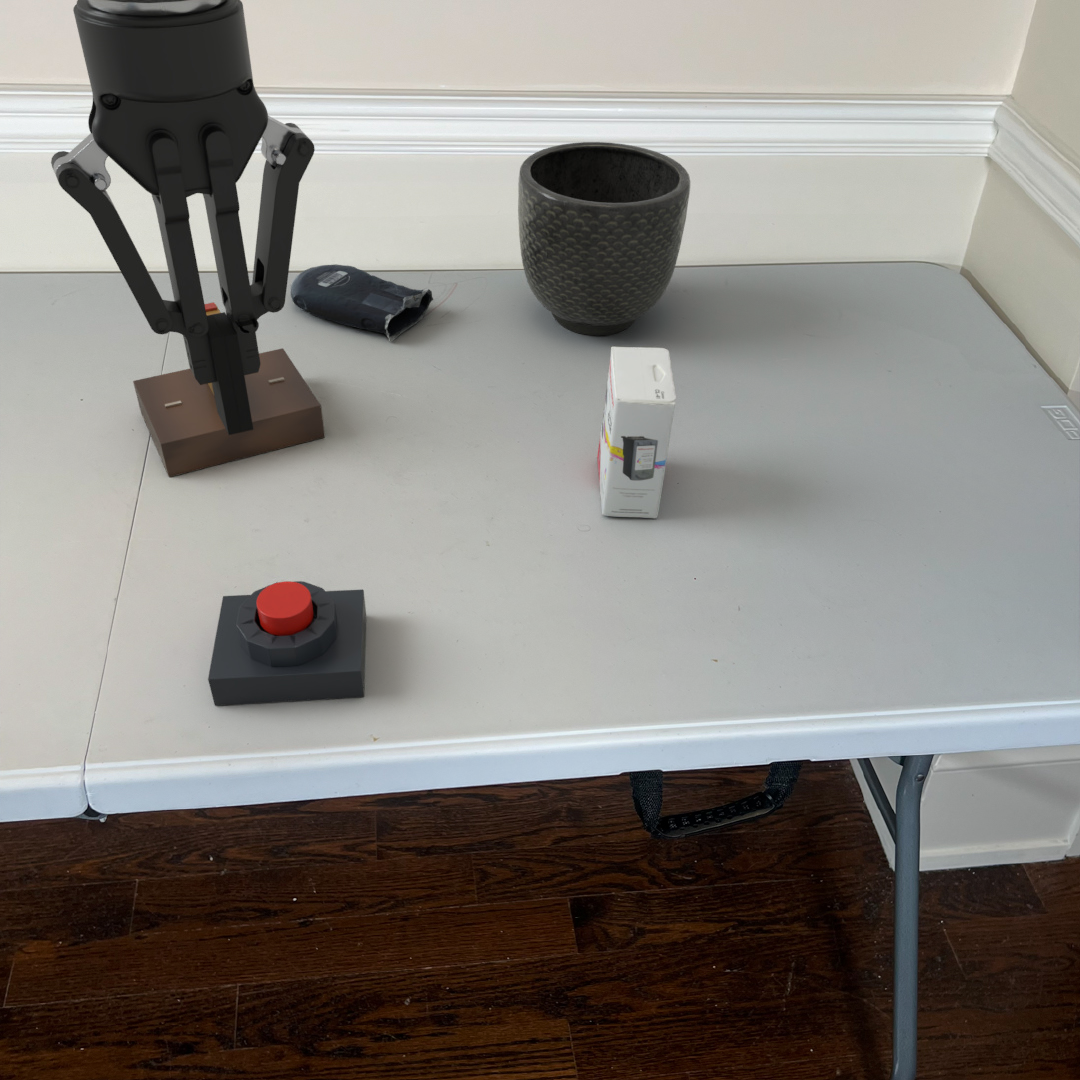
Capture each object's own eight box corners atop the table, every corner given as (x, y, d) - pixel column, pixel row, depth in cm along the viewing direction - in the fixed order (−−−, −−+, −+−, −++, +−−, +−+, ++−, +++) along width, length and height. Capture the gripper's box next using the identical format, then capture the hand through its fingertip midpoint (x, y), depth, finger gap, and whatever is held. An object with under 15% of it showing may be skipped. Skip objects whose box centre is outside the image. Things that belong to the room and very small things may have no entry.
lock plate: (168, 477, 89) (160, 442, 86) (141, 413, 96) (132, 379, 94) (325, 437, 94) (321, 403, 92) (287, 379, 101) (282, 346, 99)
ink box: (596, 458, 93) (606, 342, 85) (652, 460, 93) (667, 344, 85) (600, 519, 86) (612, 400, 79) (660, 521, 86) (678, 402, 79)
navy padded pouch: (437, 319, 114) (326, 269, 118) (438, 278, 110) (323, 227, 113) (388, 365, 109) (274, 311, 112) (387, 324, 104) (268, 269, 108)
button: (257, 637, 69) (253, 619, 68) (262, 600, 72) (259, 582, 71) (312, 635, 69) (309, 616, 68) (315, 598, 72) (312, 579, 71)
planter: (531, 362, 105) (537, 210, 95) (502, 284, 118) (505, 143, 108) (692, 350, 108) (715, 202, 98) (647, 276, 121) (663, 138, 111)
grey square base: (214, 706, 70) (202, 660, 67) (228, 622, 76) (218, 577, 73) (364, 697, 71) (358, 652, 68) (366, 615, 77) (361, 570, 74)
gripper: (272, -35, 52) (319, 368, 68) (-6, -17, 48) (112, 413, 63) (319, 1, 47) (358, 428, 63) (14, 25, 43) (136, 481, 58)
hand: (235, 420), depth 63 cm, fingers closed
